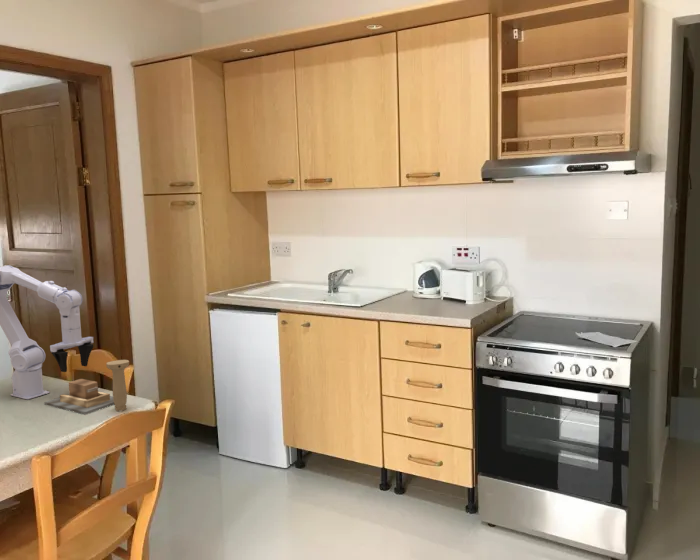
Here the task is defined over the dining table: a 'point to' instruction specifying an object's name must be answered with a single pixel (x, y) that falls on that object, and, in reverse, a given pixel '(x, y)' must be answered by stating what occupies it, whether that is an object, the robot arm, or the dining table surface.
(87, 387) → the cabinet block
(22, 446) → the dining table surface
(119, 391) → the handle
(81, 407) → the cradle
